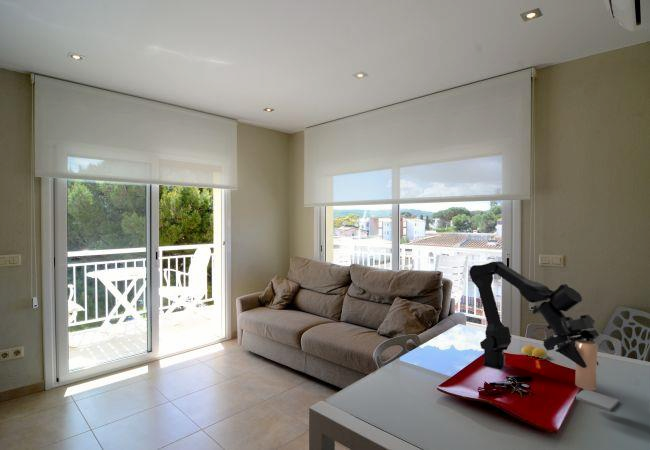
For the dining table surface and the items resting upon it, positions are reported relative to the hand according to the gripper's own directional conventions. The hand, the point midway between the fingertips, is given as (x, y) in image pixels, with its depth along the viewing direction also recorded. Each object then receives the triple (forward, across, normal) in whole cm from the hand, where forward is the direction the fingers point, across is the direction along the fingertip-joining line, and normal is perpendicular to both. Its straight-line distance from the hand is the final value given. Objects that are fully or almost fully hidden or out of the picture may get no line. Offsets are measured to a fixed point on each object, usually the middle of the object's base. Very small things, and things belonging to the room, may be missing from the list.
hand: (591, 366), depth 104 cm
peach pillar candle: (+4, 0, +6) cm, 7 cm away
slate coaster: (+7, +9, +12) cm, 16 cm away
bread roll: (-16, +25, +36) cm, 47 cm away
